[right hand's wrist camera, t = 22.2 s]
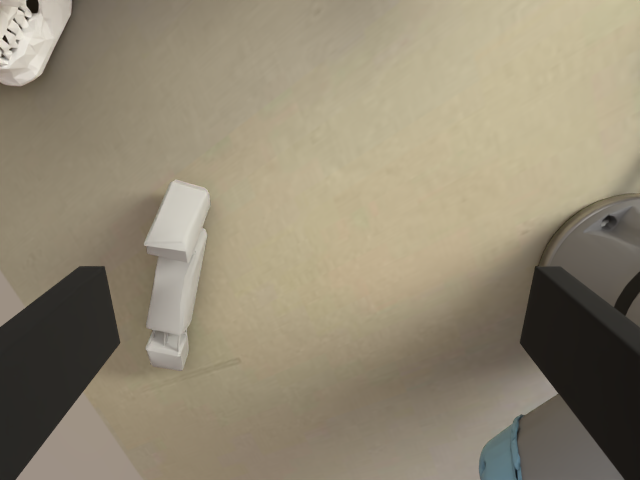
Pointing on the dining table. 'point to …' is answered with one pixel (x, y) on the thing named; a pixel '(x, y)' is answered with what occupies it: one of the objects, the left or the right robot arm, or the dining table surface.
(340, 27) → the dining table surface
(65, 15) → the skull
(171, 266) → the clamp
